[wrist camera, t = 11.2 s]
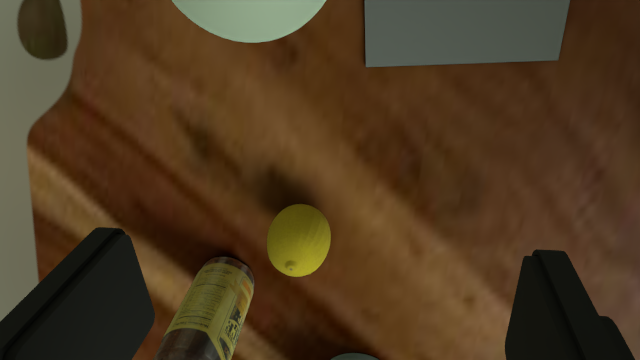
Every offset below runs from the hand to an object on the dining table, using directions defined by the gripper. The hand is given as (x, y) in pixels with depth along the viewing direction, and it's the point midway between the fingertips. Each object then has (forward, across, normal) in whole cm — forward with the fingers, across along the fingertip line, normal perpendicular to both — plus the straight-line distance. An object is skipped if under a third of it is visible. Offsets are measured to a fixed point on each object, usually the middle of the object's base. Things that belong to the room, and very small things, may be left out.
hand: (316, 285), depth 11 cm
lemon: (+27, +6, +16) cm, 32 cm away
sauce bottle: (+27, +15, +24) cm, 39 cm away
